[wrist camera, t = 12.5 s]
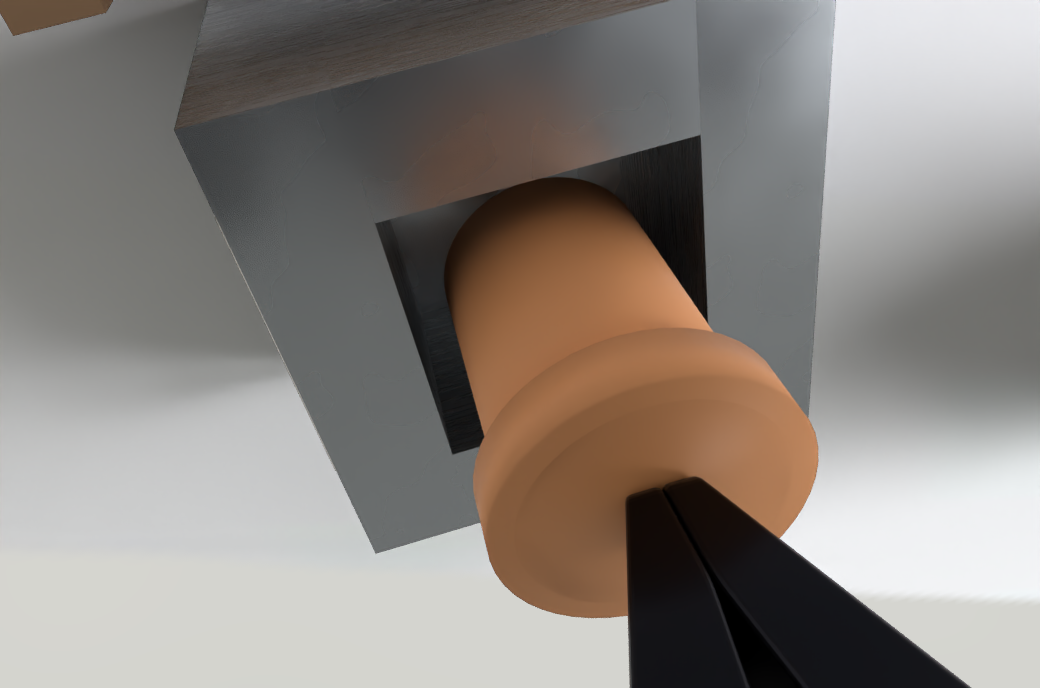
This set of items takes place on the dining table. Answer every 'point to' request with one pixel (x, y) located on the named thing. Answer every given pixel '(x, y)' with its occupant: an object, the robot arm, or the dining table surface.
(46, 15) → the brown wooden flat frame
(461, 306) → the plunger
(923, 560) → the dining table surface
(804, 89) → the grey peg hole block
